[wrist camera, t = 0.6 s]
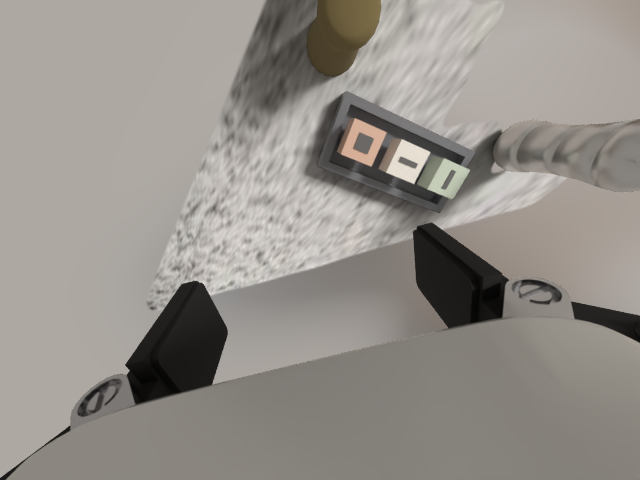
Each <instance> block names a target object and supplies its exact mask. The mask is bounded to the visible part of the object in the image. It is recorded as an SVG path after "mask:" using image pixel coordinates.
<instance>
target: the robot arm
mask: <svg viewBox="0 0 640 480" xmlns="http://www.w3.org/2000/svg"><path fill="white" fill-rule="evenodd" d="M413 239H414V253H415V269H416V282H417V286H418V288H419V289H420V291H421V292H422V293H423V295H424V296H425V297H426V299H427V300H428V301H429V303H430V304H431V305H432V307H433V308H434V309H435V311H436V312H437V313H438V315H439V316H440V317H441V319H442V320H443V321H444V323H445V324H446V325H447V327H448V329H443V330H439V331H435V332H430V333H426V334H422V335H418V336H413V337H409V338H405V339H400V340H396V341H392V342H387V343H383V344H379V345H375V346H371V347H366V348H362V349H358V350H353V351H349V352H345V353H341V354H337V355H333V356H328V357H324V358H320V359H316V360H312V361H307V362H303V363H299V364H295V365H291V366H287V367H283V368H279V369H274V370H270V371H266V372H262V373H258V374H254V375H250V376H246V377H242V378H238V379H234V380H230V381H226V382H222V383H218V384H214V385H212V383H213V379H214V376H215V373H216V370H217V367H218V364H219V361H220V357H221V354H222V351H223V348H224V345H225V341H226V338H227V335H228V331H227V327H226V325H225V323H224V321H223V320H222V318H221V316H220V314H219V312H218V310H217V308H216V307H215V305H214V303H213V301H212V299H211V297H210V295H209V293H208V292H207V290H206V288H205V286H204V284H203V283H199V282H198V281H192V282H188V283H184V284H182V285H181V286H180V287H179V289H178V290H177V291H176V293H175V294H174V296H173V297H172V299H171V300H170V302H169V303H168V304H167V306H166V307H165V309H164V310H163V312H162V313H161V315H160V316H159V317H158V319H157V320H156V322H155V323H154V324H153V326H152V327H151V329H150V330H149V332H148V333H147V334H146V336H145V337H144V339H143V340H142V342H141V343H140V344H139V346H138V347H137V349H136V350H135V352H134V353H133V354H132V356H131V357H130V359H129V360H128V362H127V363H126V364H125V365H126V367H127V368H128V369H129V370H130V371H129V373H128V374H127V375H124V374H117V375H113V376H111V377H108V378H106V379H104V380H103V381H101V382H99V383H98V384H96V385H95V386H94V387H92V388H91V389H90V390H89V391H88V392H87V393H86V394H85V395H83V396H82V398H81V399H80V400H79V401H78V402H77V404H76V405H75V407H74V409H73V410H72V413H71V425H70V426H69V427H68V428H66V429H65V430H64V431H63V432H61V433H60V434H58V435H57V436H56V437H54V438H53V439H52V440H50V441H49V442H48V443H46V444H45V445H44V446H42V447H41V448H40V449H38V450H37V451H36V452H34V453H33V454H32V455H30V456H29V457H28V458H26V459H25V460H24V461H22V462H21V463H20V464H19V465H17V466H16V467H14V468H13V469H12V470H11V471H9V472H8V473H6V474H5V475H4V476H2V477H1V478H0V480H640V316H638V315H634V314H629V313H624V312H620V311H615V310H610V309H605V308H600V307H595V306H591V305H586V304H581V303H576V302H571V299H570V296H569V294H568V292H567V291H566V290H565V289H564V288H562V287H561V286H560V285H558V284H556V283H554V282H552V281H549V280H546V279H542V278H538V277H527V276H524V277H516V278H513V279H511V280H508V279H507V278H506V277H504V276H503V275H502V273H501V272H500V271H498V270H497V269H495V268H494V267H493V266H491V265H490V264H488V263H487V262H486V261H484V260H483V259H482V258H480V257H479V256H477V255H476V254H475V253H473V252H472V251H470V250H469V249H468V248H466V247H465V246H464V245H462V244H461V243H459V242H458V241H457V240H455V239H454V238H453V237H451V236H450V235H448V234H447V233H445V232H444V231H443V230H442V229H440V228H439V227H437V226H436V225H435V224H433V223H428V224H424V225H420V226H418V227H417V230H414V231H413Z"/></svg>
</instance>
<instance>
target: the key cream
mask: <svg viewBox="0 0 640 480" xmlns="http://www.w3.org/2000/svg"><path fill="white" fill-rule="evenodd" d="M429 154H430V152H429V151H427V150H425V149H423V148H420V147H418V146H416V145H414V144H411V143H409V142H407V141H405V140H403V139H396V138H392V140H391V142H390V144H389V147H388V149H387V151H386V153H385V155H384V157H383V160H382V162H381V164H380V166H379V168H378V169H380V170H382V171H384V172H386V173H388V174H391V175H393V176H396V177H398V178H401V179H403V180H406V181H408V182H410V183H413V184H414V183H415V181H416V179H417V177H418V175H419V173H420V171H421V169H422V168H423V166H424V164H425V162H426V160H427V158H428V156H429Z"/></svg>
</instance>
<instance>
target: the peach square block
mask: <svg viewBox="0 0 640 480" xmlns="http://www.w3.org/2000/svg"><path fill="white" fill-rule="evenodd" d="M386 133H387V132H385V131H383V130H380V129H378V128H376V127H374V126H371V125H369V124H367V123H365V122H363V121H360V120H358V119H356V118H352V119H349V121H348V124H347V127H346V129H345V132H344V134H343V137H342V139H341V142H340V145H339V147H338V150H337V152H338V153H340V154H342V155H344V156H346V157H349V158H351V159H354V160H356V161H359V162H361V163H364V164H366V165H369V166H371V167H372V164H373V162H374V160H375V158H376V155H377V153H378V151H379V149H380V146H381V144H382V142H383V140H384V138H385V135H386Z"/></svg>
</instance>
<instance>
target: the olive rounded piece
mask: <svg viewBox="0 0 640 480" xmlns="http://www.w3.org/2000/svg"><path fill="white" fill-rule="evenodd" d="M380 12H381V0H318V6H317V17H316V19H315V20H314V22H313V23H312V25H311V26H310V29H309V32H308V35H307V52H308V56H309V59H310V61H311V63H312V65H313V66H314V67H315V68H316V69H317V70H318V71H319V72H321V73H323V74H324V75H328V76H337V75H341V74H342V73H344V72H345V71H347V70H348V69H349V68H350V67H351V65H352V64H353V62H354V60H355V58H356V55H357V53H358V50H359V48H361V47H362V46H364V45H365V44H366V43H367V42H368V41H369V40H370V38H371V37H372V36H373V35H374V33H375V30H376V28H377V26H378V23H379V18H380Z"/></svg>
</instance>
